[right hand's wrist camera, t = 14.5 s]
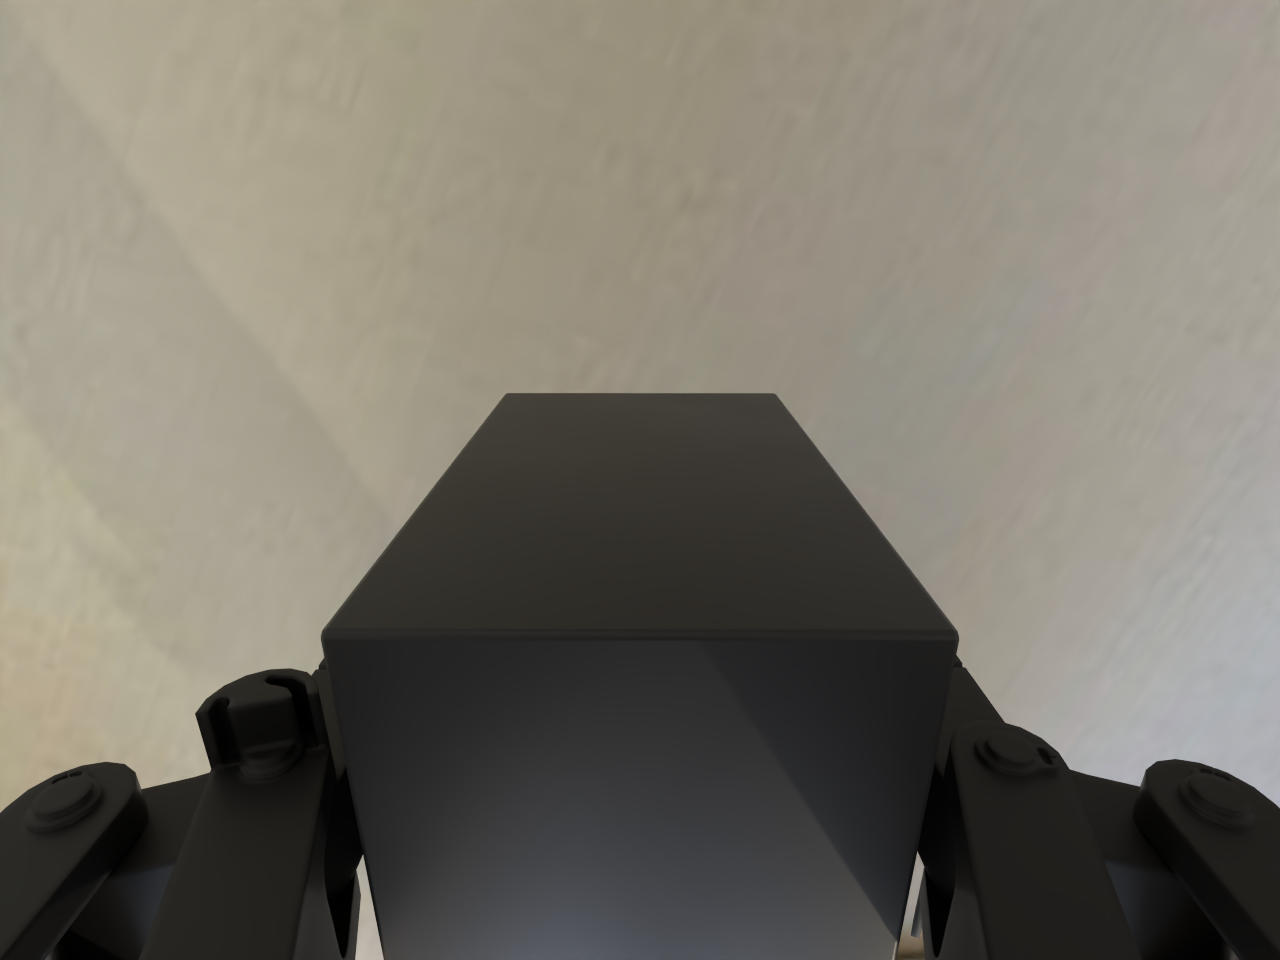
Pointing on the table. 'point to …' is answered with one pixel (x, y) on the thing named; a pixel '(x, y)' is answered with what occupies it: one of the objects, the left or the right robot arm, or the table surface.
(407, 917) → the bar
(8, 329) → the table surface
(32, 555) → the table surface
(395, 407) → the table surface
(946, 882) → the right robot arm
